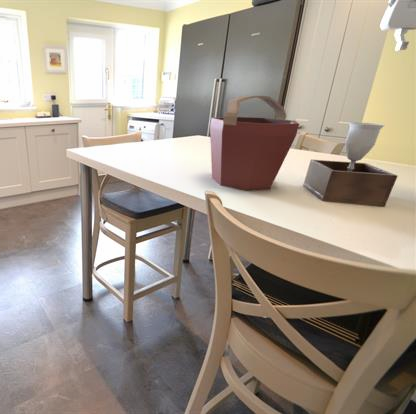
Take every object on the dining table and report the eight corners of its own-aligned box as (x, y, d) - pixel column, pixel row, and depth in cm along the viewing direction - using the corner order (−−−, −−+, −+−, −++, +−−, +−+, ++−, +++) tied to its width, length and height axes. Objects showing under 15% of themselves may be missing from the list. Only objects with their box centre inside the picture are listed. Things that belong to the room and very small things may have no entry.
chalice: (355, 198, 73) (382, 126, 66) (323, 191, 77) (346, 123, 71) (360, 192, 77) (386, 124, 70) (330, 186, 82) (352, 121, 75)
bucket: (225, 195, 76) (244, 95, 67) (186, 173, 96) (197, 94, 87) (301, 190, 81) (329, 97, 71) (249, 170, 101) (266, 95, 91)
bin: (355, 190, 82) (365, 163, 79) (384, 206, 70) (398, 175, 67) (303, 185, 86) (310, 159, 83) (322, 200, 73) (331, 170, 70)
